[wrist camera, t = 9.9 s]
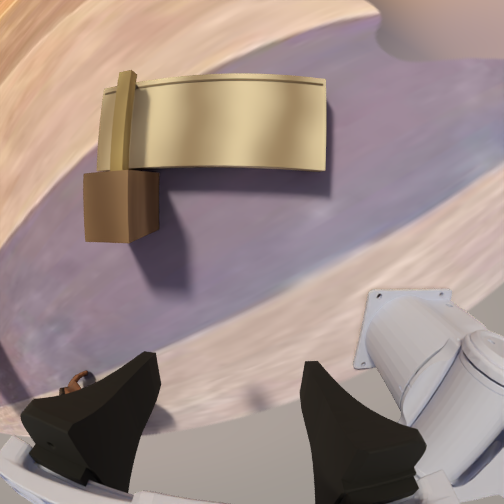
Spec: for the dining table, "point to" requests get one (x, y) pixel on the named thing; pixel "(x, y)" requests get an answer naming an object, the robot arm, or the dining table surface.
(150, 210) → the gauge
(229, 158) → the board
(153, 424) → the dining table surface
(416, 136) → the dining table surface
